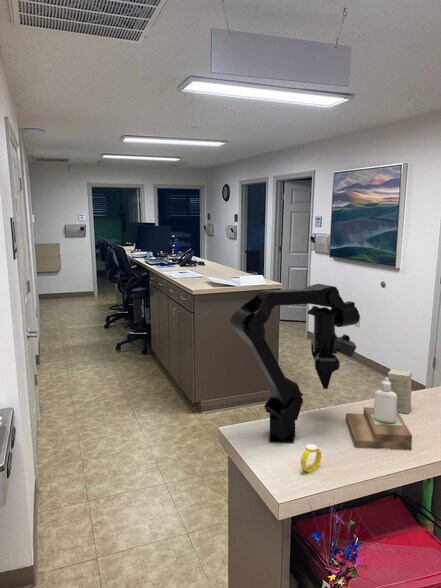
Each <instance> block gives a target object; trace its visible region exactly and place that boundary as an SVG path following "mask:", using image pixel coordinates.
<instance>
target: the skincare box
mask: <svg viewBox="0 0 441 588" xmlns="http://www.w3.org/2000/svg"><path fill="white" fill-rule="evenodd" d="M387 377H388V380H389V382H391V391H392V392H394V393H396V395H397V411H398V413H399V414H400V413H402V414H407V415H409V413H410V411H411V409H412V371H408V370H399V369H393V368H390V370H389V371H388V372H387Z"/></svg>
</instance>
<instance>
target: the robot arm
mask: <svg viewBox="0 0 441 588" xmlns="http://www.w3.org/2000/svg"><path fill="white" fill-rule="evenodd" d="M344 301H345V300H344V299H343V298H342V297H341V295H340V292H339V289H338V287H336V286H333V285H329V284H328V285H327V284H322V283H316V284H312V285H308V286H307V287H304V288H293V289H292V288H291V289H290V288H289V289H288V288H287V289H262V290H260V291H258V293H256V294H255V296H254V297H252V298H251V299H249V300H248V301H246V302H245V303H244V304H243V305H242V306H241V307H240V308H239V309H238V310H236V311H235V312H233V314H232V316H231V319H230V325H231V327H232V329H233V331H235V333H236V334H237V335H238V336H239V337H240V338H241V339H242V340H243V341H244V342H245V343H246V344H247V345H248V346H249V348H250V350H251V353H252V354H253V355H254V357H255V359H256V361H257V363H258V365H259V367H260V368H261V369H260V370H262V372H263V374H264V377H265V378H266V380H267V382H268V384H269V393H270V398H269V399H268V400H267V401H266V403H265V404H264V407H263V408H264V409H265V412H266V413H268V414H269V438H268V440H269V442H270V443H271V442H272V443H290V444H291V443H294V442H295V441H294V439H295V438H296V421H298V419H299V415H300V412H301V408H302V406H303V403H304V399H303V396H304V394H303V393H302V392H301V390H300V386H299V385H298V383H297V382H295V381H293V380H291V379H290V378H288V377H286V376H285V375H284V372H283V370H282V368H281V366H280V365H279V363H278V361H277V359H276V357H275V355H274V353H273V351H272V349H271V347H270V346H269V344H268V342H267V339H266V328H265V323H266V322H268V320H269V319H270V317H271V313H272V311H273V309H274V308H275V307H277V306H290V305H291V306H293V305H295V306H296V305H308V304H310V305H313V306H311V308H310V309H309V310H308V311H307V314H308V315H310V316H313V332H312V333H313V340H312V341H311V342H310V350H311V351H310V352H311V356H312V357H313V360H314V369H315V371H316V374H317V376H318V378H319V382H320V383H321V386H322V389H324V390H328V388H329V384H330V381H331V378H332V375H333V373H334V372H335V371H338V370H340V360H339V357H338V356H337V354H338V353H341V354H344V355H347V356H348V357H351V358H353V356H354V354H355V351H356V349H357V345H356V343H355V342H353V341H352V340H351V337H350V335H348V334H343V335H342V336H338V335H337V334H336V327H337V328H342V327H348V326H349V327H350V326H354V325H358V323H359V322H360V319H361V315H360V311H359V310H358V308H357V307H356V306H355V305H356V303H355V301H345V302H344ZM319 306H320V307H319Z"/></svg>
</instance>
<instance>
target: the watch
mask: <svg viewBox="0 0 441 588" xmlns="http://www.w3.org/2000/svg"><path fill="white" fill-rule="evenodd" d="M311 453H315V459H314V462H313V463H312V464H311V465H310V466H309V467H307V465H306V464H307V460H308V456H309V455H310V454H311ZM321 460H322V452H321V450H320V448H319V447H318V446H317V445H316V444H313V443H309V444H306V445H305V450H304V451H303V452H302V455H301V457H300V466H301V469H302V470H303V471H305V472H307V473H311V472H312V471H314V470H316V469H318V468H319V466H320V463H321Z"/></svg>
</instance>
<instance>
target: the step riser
mask: <svg viewBox="0 0 441 588" xmlns="http://www.w3.org/2000/svg"><path fill="white" fill-rule="evenodd" d="M345 421H346V424H347V428H348V431H349V433H350V436H351V440H352V443H353V445H354V448H359V449H360V448H361V449H379V448H386V450H388V449H387V448H390V449H389V450H403V451H405V450H407V451H411V450H412V443H413V441H412V440H413V435H412V433H411V432H410V430H409V428H408V425H406V423H405V421H404V420H403V418H402V416H401V415H400V412H398V411H396V421H395V422H394V423H386V422H381V421H378V420H375V419H374V407H365V406H364V407H363V413H353V412H352V413H351V412H349V413H347V412H346V413H345Z"/></svg>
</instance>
